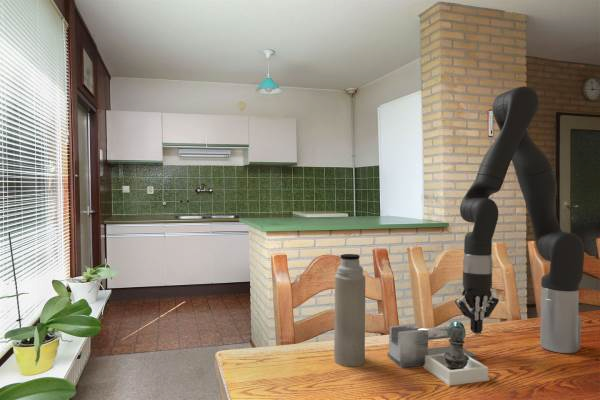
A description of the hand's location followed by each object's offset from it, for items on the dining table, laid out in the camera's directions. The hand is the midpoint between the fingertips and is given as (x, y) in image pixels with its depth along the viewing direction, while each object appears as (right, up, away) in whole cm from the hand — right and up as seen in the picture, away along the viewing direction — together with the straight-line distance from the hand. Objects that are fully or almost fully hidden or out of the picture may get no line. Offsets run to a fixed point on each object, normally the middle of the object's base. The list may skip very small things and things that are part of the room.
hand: (476, 332), depth 123 cm
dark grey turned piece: (-10, -6, -14) cm, 18 cm away
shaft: (-11, -2, -3) cm, 12 cm away
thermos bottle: (-36, -6, -6) cm, 37 cm away
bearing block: (-13, -6, -4) cm, 15 cm away
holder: (-11, -6, -14) cm, 18 cm away
